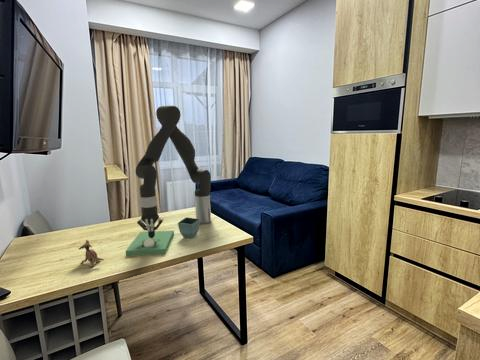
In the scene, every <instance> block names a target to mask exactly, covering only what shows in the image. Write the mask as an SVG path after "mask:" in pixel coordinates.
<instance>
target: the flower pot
mask: <svg viewBox="0 0 480 360" xmlns="http://www.w3.org/2000/svg"><path fill="white" fill-rule="evenodd" d="M199 222H200V219H196V217H187V216H186V217H184V218H183V219H180V221H178V222H177V226H178V230H179V233H180V235H181V236H182V238H187V239H193V238H194V237H195V236H196V235H197V234H198V231H199V229H200V224H199Z"/></svg>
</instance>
